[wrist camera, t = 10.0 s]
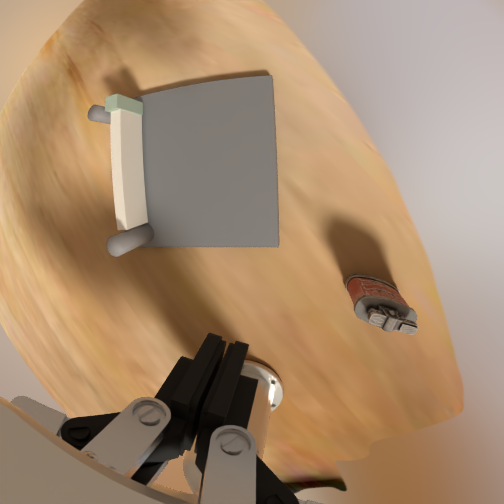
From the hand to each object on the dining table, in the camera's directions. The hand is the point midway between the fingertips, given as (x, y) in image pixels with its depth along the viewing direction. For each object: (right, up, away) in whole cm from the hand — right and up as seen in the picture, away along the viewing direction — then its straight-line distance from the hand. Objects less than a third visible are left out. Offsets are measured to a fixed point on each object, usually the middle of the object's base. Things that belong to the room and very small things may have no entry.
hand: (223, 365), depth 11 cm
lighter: (+17, 0, +24) cm, 29 cm away
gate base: (-6, +16, +23) cm, 29 cm away
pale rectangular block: (-14, +16, +22) cm, 31 cm away
